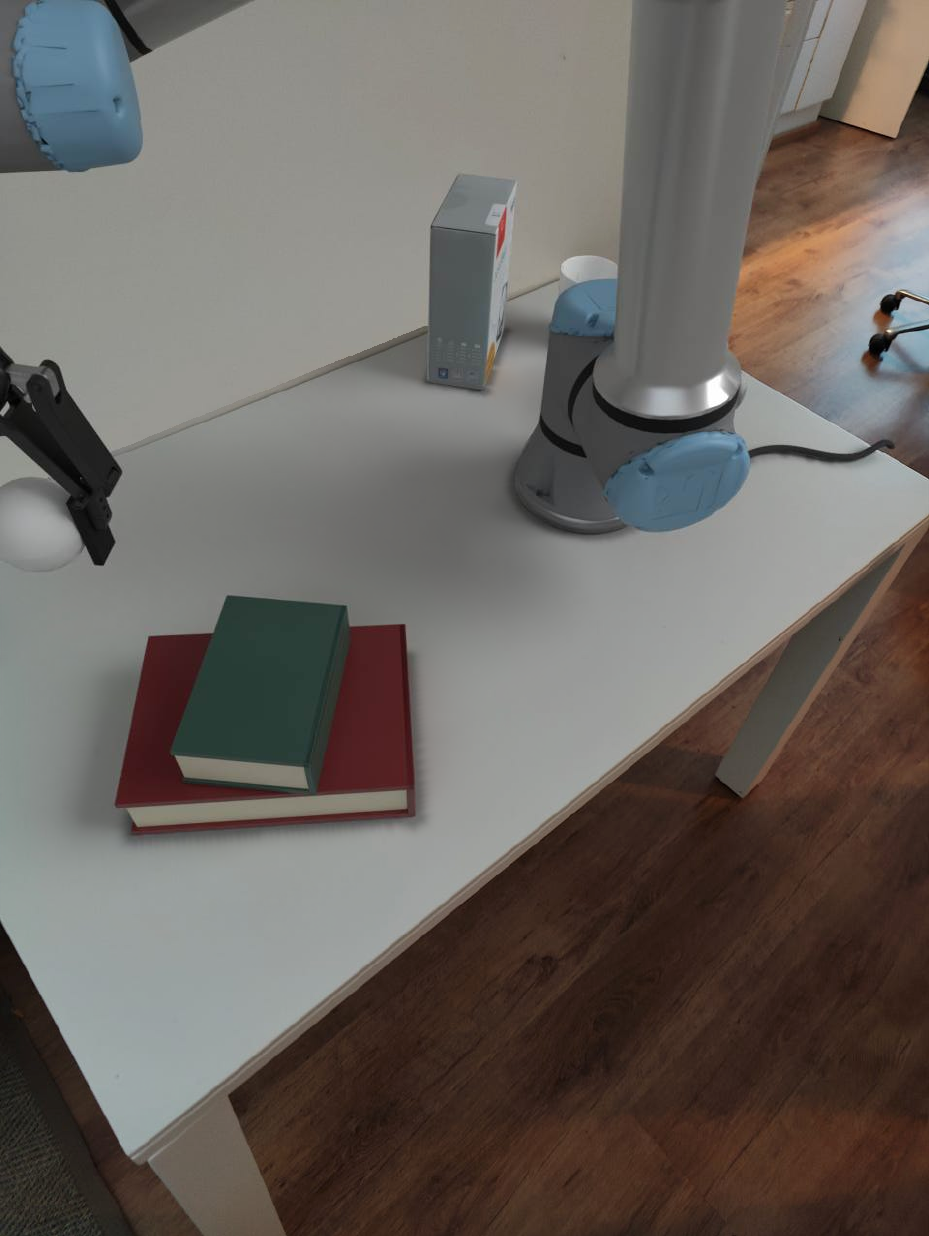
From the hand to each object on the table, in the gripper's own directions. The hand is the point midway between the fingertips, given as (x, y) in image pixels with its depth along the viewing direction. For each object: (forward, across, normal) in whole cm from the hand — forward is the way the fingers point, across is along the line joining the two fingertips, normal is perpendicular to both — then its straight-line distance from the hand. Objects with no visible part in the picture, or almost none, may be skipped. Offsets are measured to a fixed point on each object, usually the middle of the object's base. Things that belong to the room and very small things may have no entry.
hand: (42, 548), depth 66 cm
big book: (+13, -20, +8) cm, 25 cm away
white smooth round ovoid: (+1, 0, 0) cm, 1 cm away
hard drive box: (+13, -30, -53) cm, 62 cm away
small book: (+8, -20, +8) cm, 22 cm away
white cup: (+14, -45, -59) cm, 76 cm away
